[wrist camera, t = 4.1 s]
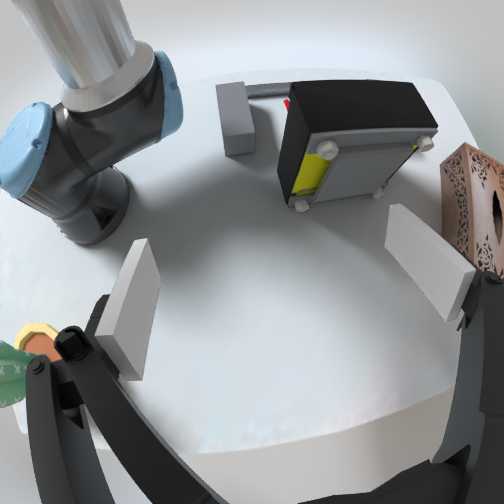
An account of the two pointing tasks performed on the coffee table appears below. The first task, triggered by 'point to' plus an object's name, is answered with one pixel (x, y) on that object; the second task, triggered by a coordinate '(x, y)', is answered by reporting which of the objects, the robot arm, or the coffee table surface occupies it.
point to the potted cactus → (23, 359)
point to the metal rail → (267, 89)
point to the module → (235, 119)
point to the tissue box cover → (474, 207)
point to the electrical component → (349, 138)
